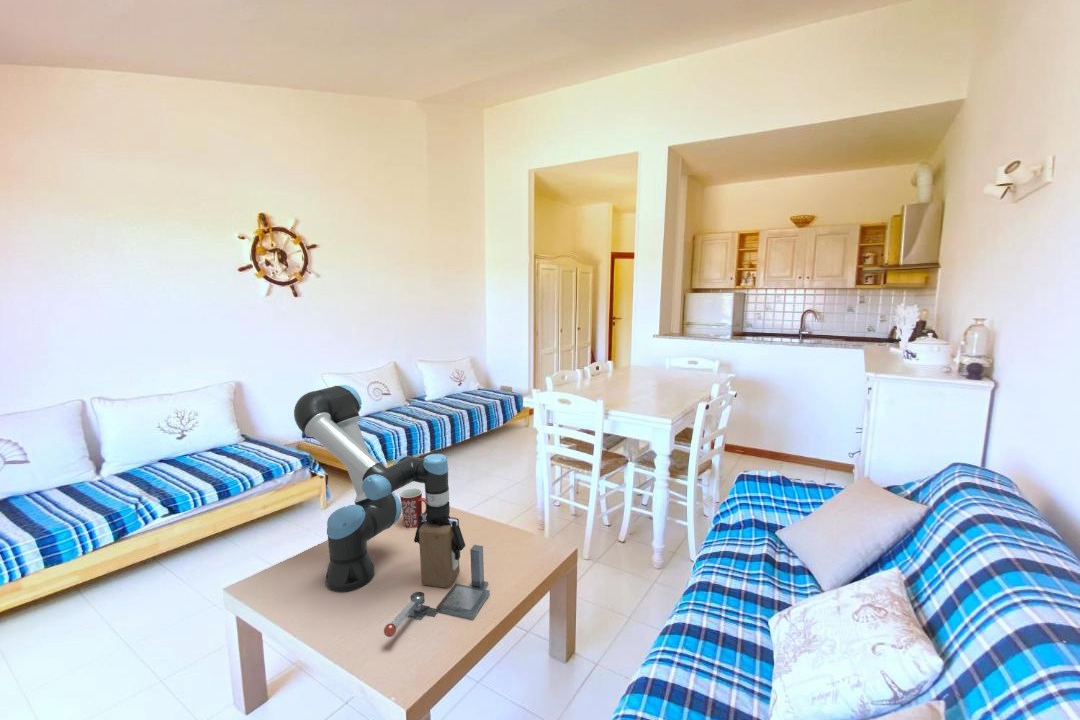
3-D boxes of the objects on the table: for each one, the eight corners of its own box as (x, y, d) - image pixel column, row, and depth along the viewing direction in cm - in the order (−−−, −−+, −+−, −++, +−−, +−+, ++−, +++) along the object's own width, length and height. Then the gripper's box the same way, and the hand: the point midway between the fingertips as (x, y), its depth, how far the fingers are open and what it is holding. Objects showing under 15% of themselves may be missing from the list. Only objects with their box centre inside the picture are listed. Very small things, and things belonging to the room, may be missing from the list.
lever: (380, 637, 129) (379, 627, 128) (415, 598, 145) (415, 588, 144) (393, 641, 127) (392, 630, 127) (427, 600, 143) (426, 591, 143)
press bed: (406, 616, 141) (403, 573, 139) (442, 575, 161) (440, 536, 159) (465, 630, 135) (464, 585, 133) (495, 586, 155) (494, 546, 153)
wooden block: (449, 589, 153) (446, 531, 150) (420, 585, 155) (417, 528, 152) (460, 571, 163) (458, 516, 160) (433, 568, 165) (430, 513, 162)
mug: (396, 526, 194) (394, 494, 192) (411, 516, 202) (409, 486, 200) (421, 532, 188) (419, 500, 186) (435, 522, 196) (434, 491, 194)
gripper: (400, 502, 155) (404, 565, 158) (464, 512, 148) (466, 577, 151) (413, 492, 162) (416, 553, 165) (474, 501, 155) (476, 564, 158)
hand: (440, 564), depth 158 cm, fingers closed on wooden block, 10 cm apart
